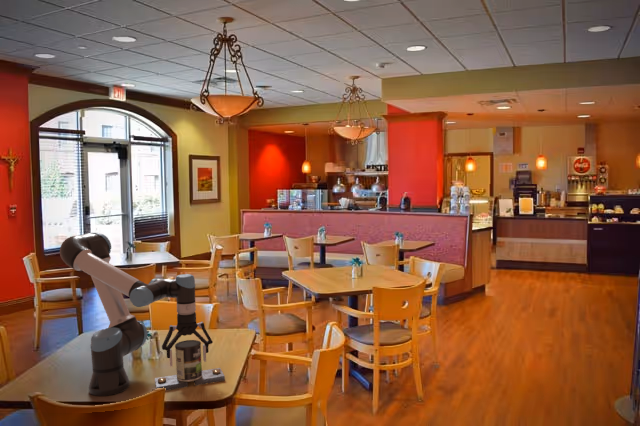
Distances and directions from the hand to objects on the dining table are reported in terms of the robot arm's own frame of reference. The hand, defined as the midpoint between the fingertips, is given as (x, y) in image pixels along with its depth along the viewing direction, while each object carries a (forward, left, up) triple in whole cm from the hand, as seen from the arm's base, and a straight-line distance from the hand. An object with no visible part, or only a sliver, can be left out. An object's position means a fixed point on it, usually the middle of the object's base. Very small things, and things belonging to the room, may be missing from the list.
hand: (188, 363), depth 218 cm
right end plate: (+8, 0, -8) cm, 11 cm away
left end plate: (-7, 0, -8) cm, 11 cm away
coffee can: (0, 0, -6) cm, 6 cm away
